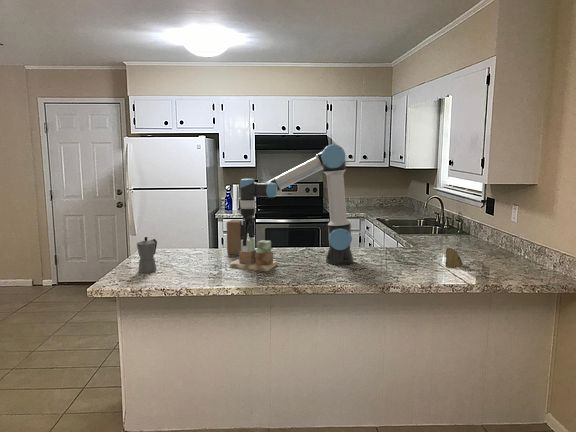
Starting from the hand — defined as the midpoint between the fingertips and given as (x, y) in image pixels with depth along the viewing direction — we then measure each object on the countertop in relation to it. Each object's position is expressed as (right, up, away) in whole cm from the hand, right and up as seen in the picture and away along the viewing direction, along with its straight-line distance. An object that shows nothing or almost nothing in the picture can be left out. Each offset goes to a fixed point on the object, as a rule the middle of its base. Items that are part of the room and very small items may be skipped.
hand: (248, 250), depth 239 cm
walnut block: (0, -6, +1) cm, 6 cm away
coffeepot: (-51, -10, -8) cm, 52 cm away
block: (-9, -4, +30) cm, 31 cm away
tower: (+9, -7, -2) cm, 12 cm away
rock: (+111, -9, -1) cm, 111 cm away
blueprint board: (+3, -8, 0) cm, 9 cm away
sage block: (0, 0, 0) cm, 0 cm away
